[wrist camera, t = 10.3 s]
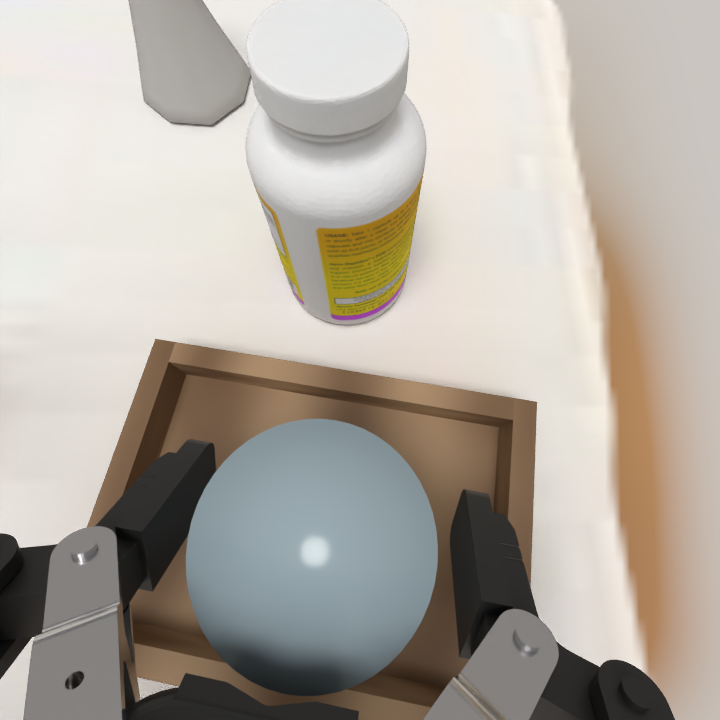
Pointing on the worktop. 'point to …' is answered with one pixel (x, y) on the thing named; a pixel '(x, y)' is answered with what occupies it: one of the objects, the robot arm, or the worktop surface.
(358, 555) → the blue rounded capsule
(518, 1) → the worktop surface
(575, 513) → the worktop surface
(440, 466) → the tray
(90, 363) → the worktop surface
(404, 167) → the supplement bottle
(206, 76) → the flask
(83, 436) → the worktop surface
